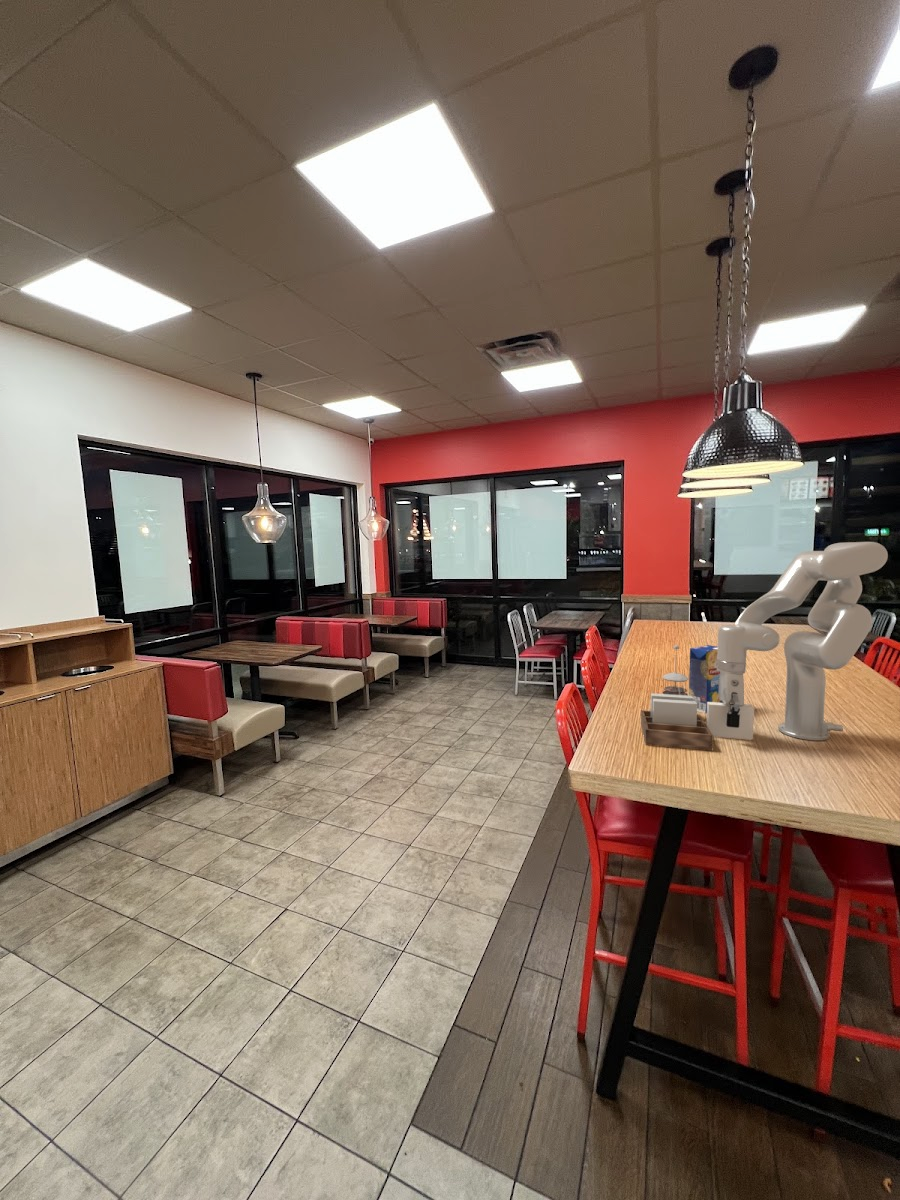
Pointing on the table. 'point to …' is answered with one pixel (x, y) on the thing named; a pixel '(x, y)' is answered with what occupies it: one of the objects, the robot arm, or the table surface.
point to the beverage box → (704, 676)
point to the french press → (675, 678)
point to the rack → (676, 734)
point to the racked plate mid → (674, 712)
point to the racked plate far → (669, 698)
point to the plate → (719, 721)
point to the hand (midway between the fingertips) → (728, 721)
